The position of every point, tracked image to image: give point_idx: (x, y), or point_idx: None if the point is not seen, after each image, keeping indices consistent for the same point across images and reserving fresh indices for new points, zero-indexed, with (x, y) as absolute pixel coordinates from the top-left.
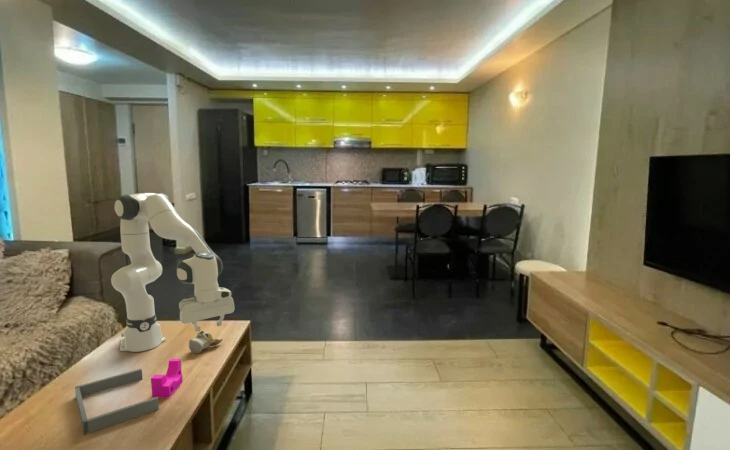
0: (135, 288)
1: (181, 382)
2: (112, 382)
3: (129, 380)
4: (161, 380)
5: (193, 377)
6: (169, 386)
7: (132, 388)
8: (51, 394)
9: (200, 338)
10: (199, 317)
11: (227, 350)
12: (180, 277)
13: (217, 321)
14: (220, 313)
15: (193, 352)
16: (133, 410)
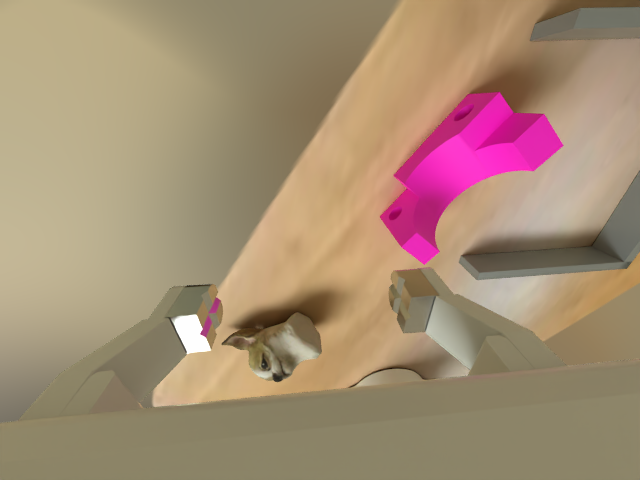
0: None
1: (400, 170)
2: (539, 259)
3: (495, 257)
4: (534, 114)
5: (355, 187)
6: (491, 98)
7: (501, 222)
8: (606, 288)
9: (287, 354)
10: (555, 439)
11: (219, 293)
12: None
13: (200, 341)
14: (26, 472)
15: (310, 319)
16: None
